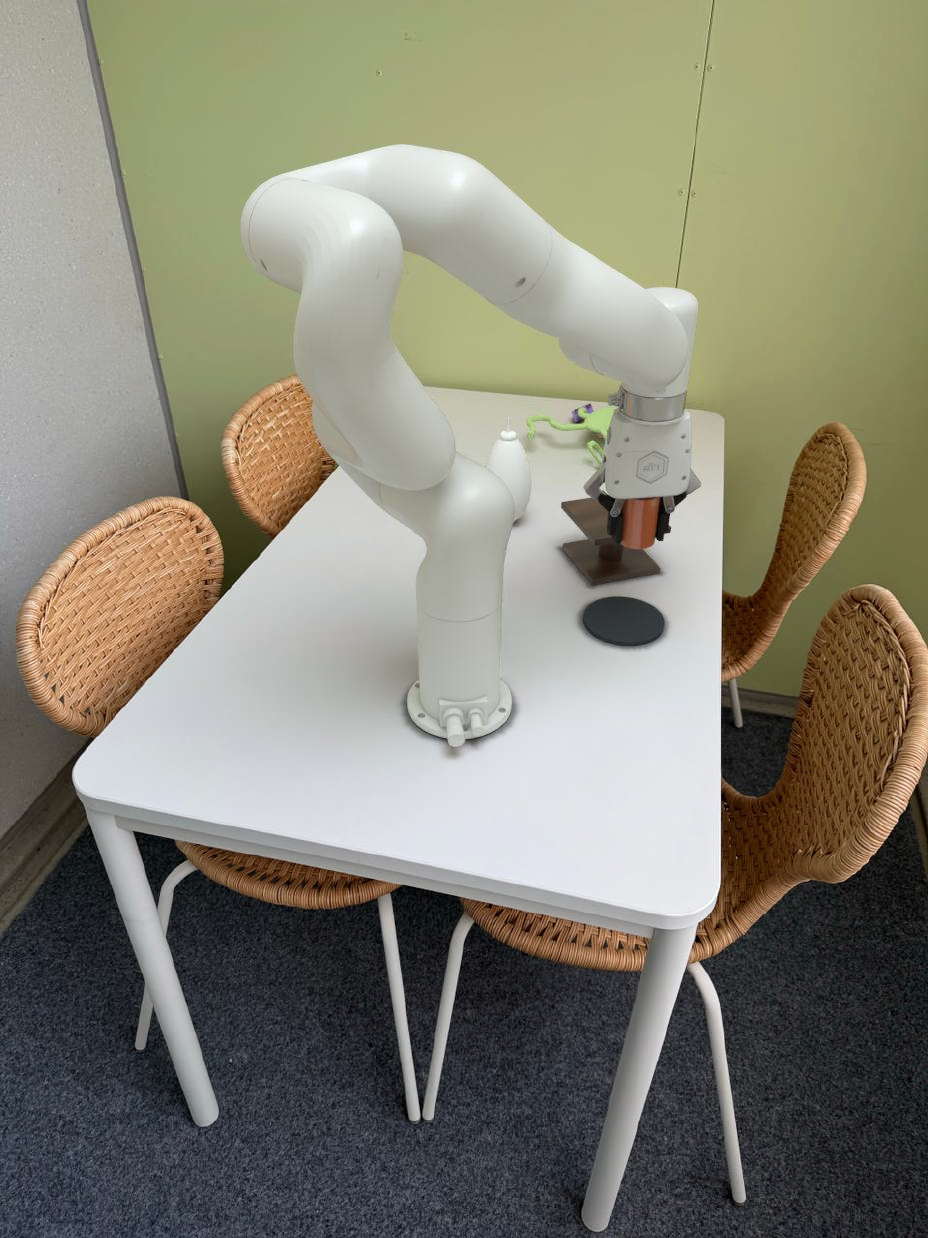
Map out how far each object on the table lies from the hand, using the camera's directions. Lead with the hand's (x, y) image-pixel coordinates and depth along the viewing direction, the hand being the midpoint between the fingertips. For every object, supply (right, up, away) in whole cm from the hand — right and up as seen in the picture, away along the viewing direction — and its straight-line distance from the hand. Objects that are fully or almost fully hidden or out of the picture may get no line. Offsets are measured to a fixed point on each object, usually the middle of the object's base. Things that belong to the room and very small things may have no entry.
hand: (636, 536), depth 111 cm
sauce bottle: (-15, +5, +31) cm, 35 cm away
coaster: (0, -11, +7) cm, 13 cm away
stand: (0, -2, +21) cm, 21 cm away
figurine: (+3, +24, +57) cm, 62 cm away
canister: (0, 0, 0) cm, 1 cm away
